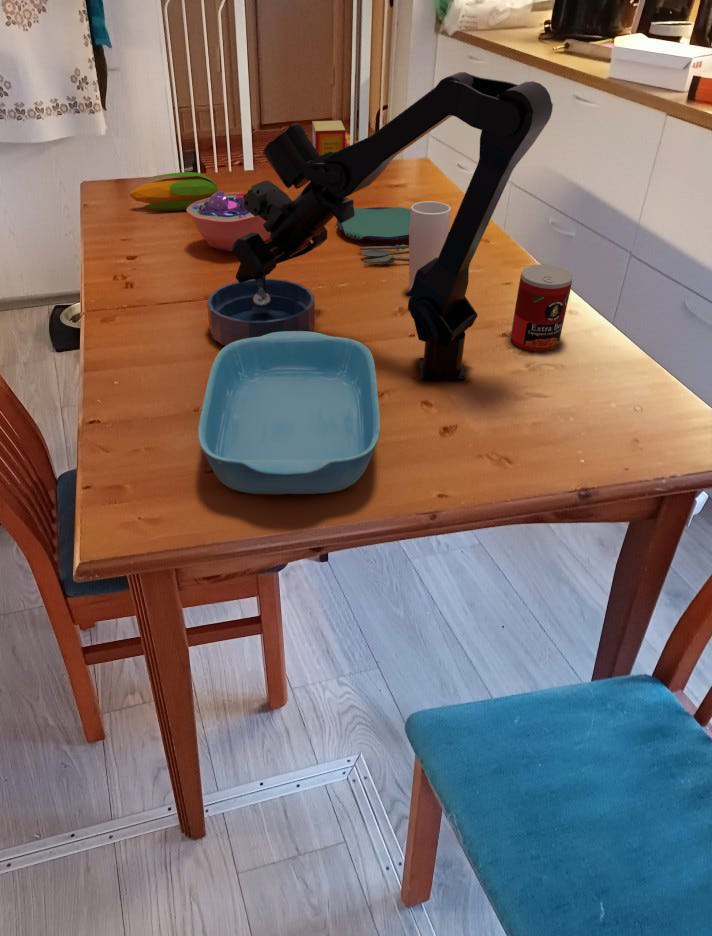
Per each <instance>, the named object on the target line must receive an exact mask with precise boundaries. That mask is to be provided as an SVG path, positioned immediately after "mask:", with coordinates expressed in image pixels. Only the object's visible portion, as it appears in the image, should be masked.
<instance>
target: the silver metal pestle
mask: <svg viewBox="0 0 712 936" xmlns="http://www.w3.org/2000/svg"><path fill="white" fill-rule="evenodd" d="M266 279H267V278H266V276H264V277H262V278H260V279H258V280H256V291H257V293H256V294H254V295H253V297H252V299H251V308H252V310H253V311H254V312H255V313H256V314H258V315H266V314H268V313H269V312H270V311H271V310H272V308H273V299H272V297H271V296H270V295H269V294H268V293H266Z"/></svg>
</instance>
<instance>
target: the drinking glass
mask: <svg viewBox="0 0 712 936" xmlns="http://www.w3.org/2000/svg"><path fill="white" fill-rule="evenodd" d="M410 210H411V213H410V222H409V238H408V246H409V248H408V250H409V253H408V258H409V261H408V292H409V291H410V290H411V288H412V286H413V283H414V278H415V275H416V272H417V270H418V269H420V268H421V267H423V266H424V265H426V264H427V263H429V262H430V261H432V260H433V259H434V258H436V257H437V258H438V257H439V255H440V252H441V250H442V248H443V245H444V243H445V241H446V238H447V236H448V233H449V231H450V227H451V226H450V225H451V212H452V211H451V210H452V208H451V206H450V205H449V204H447V203H444V202H440V201H431V200H430V201H429V200H428V201H427V200H425V201H419V202H415V203H413V204H412V205H411V206H410Z"/></svg>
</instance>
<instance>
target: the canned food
mask: <svg viewBox="0 0 712 936" xmlns="http://www.w3.org/2000/svg"><path fill="white" fill-rule="evenodd" d="M573 277H574V276H573V274H572V273H571V272H570V271H569V270H567V269H566V268H563V267H561V266H556V265H552V264H551V265H550V264H534V265H529V266H526V267H525V268H523V269H522V271H521V274H520V278H519V283H518V289H517V294H516V300H515V301H516V302H515V308H514V313H513V314H514V315H513V319H512V325H511V332H510V337H511V341H512V343H513V345H515V346H516V347H518V348H520V349H522V350H526V351H530V352H535V353H536V352H537V353H538V352H539V353H541V352H548V351H551V350H553V349H555V348H556V347H557V346H558V344H559V342H560V339H561V336H562V330H563V325H564V321H565V318H566V317H565V316H566V313H567V307H568V305H569V304H568V303H569V300H570V294H571V289H572V284H573Z"/></svg>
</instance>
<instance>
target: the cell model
mask: <svg viewBox="0 0 712 936" xmlns="http://www.w3.org/2000/svg"><path fill="white" fill-rule="evenodd" d="M245 194H247V192H224V191H223V190H218V192H216V193H214V194H213V195H212V196H211V197H210V198H207V199H203V200H200V201H197V202H195V203H193V204H191V205H190V206H189V207H188V208H187V210H186V212H187V214H188V215H189V217H190V218H191V219H192V221H193V223H194V225H195V226H196V228H197V229H198V232H199V233H200V234H201V236H202V237H203V238H204V240H205V241H206V243H207V244H208V246H210V247H212V248H215V249H217V250H221V251H226V252H231V253H234V252H233V251H232V245H233V244H234V243H235V242H236V240H237V239H238V238H240V237H242V236H244V235H246V234H249V233H251V232H254V233H258V234H259V235H260V236H261V238H262V239H263V241H264V242H265V243H268V242H270V240H272V239H271V237H270V234H271V233H270V231H269V232H267V231H266V229H265V228H264V226H263V225H264V223H265V222H266V220H263V219H262V218H261V217H260V216H254V215H252V214H251V213H250V212H249V211H247V210H246V209H245V208H244V205H243V204H244V199H243V196H244V195H245Z"/></svg>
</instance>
